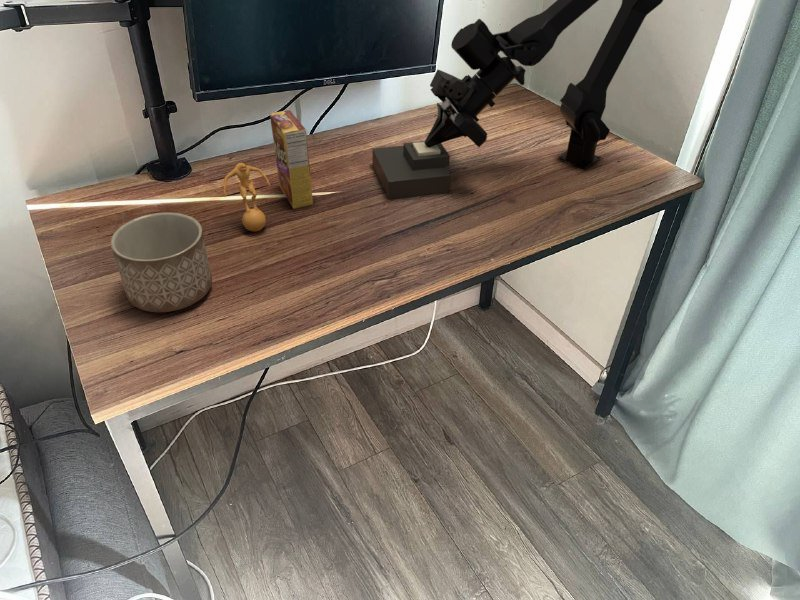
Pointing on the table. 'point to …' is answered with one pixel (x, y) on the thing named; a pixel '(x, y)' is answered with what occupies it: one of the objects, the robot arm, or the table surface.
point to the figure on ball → (251, 217)
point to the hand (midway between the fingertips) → (426, 145)
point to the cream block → (425, 149)
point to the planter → (162, 261)
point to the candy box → (292, 158)
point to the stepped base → (411, 171)
